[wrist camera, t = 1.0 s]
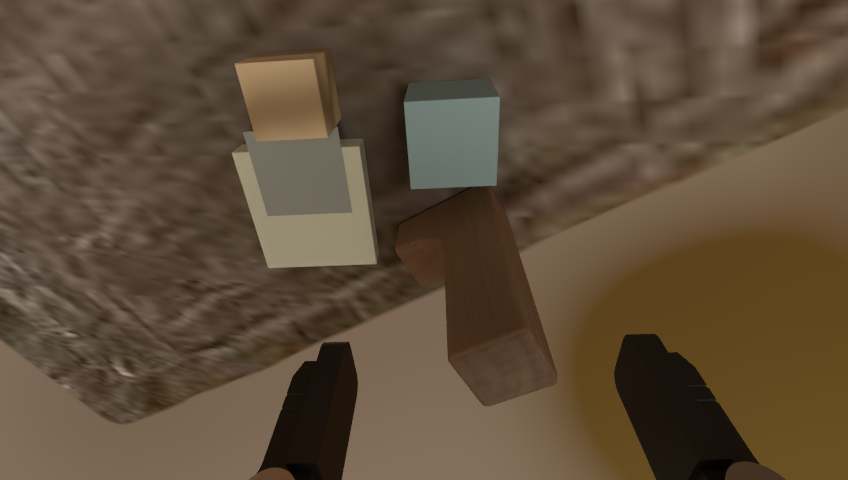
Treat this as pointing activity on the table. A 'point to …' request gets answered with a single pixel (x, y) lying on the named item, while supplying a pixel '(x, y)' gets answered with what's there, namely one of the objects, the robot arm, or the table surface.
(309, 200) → the foundation board
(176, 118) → the table surface
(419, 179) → the cube
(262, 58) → the oak block
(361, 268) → the table surface
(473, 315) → the wooden block
